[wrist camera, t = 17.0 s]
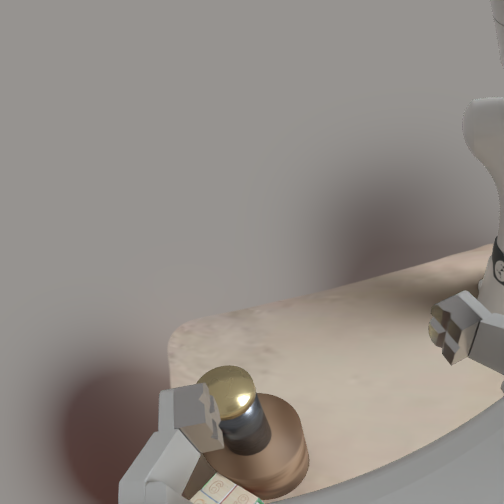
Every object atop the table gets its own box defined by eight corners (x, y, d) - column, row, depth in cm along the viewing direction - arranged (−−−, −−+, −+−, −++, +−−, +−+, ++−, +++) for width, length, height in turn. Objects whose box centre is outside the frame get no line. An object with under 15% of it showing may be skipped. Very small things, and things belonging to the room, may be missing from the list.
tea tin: (266, 410, 35) (247, 359, 30) (277, 449, 30) (258, 404, 25) (221, 422, 35) (192, 373, 30) (227, 461, 30) (195, 419, 25)
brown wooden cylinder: (297, 419, 43) (287, 382, 38) (319, 486, 32) (314, 462, 28) (220, 438, 42) (197, 405, 38) (230, 507, 32) (205, 487, 27)
